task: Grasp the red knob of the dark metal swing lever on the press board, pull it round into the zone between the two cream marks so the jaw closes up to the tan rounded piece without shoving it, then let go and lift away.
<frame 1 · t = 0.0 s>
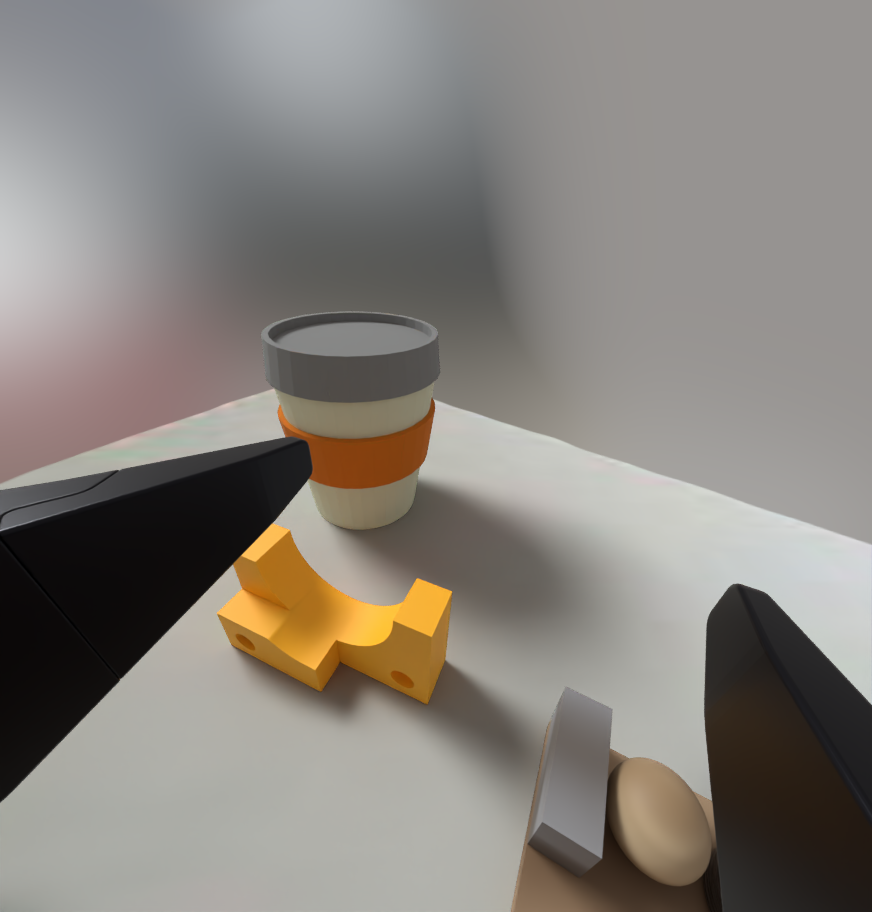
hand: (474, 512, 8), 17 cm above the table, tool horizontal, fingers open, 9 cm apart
pipe clamp: (338, 655, 22), on the table
reusable coffee cup: (366, 497, 34), on the table
tan rounded piece: (639, 829, 15), point 1 cm above the table, touching press board
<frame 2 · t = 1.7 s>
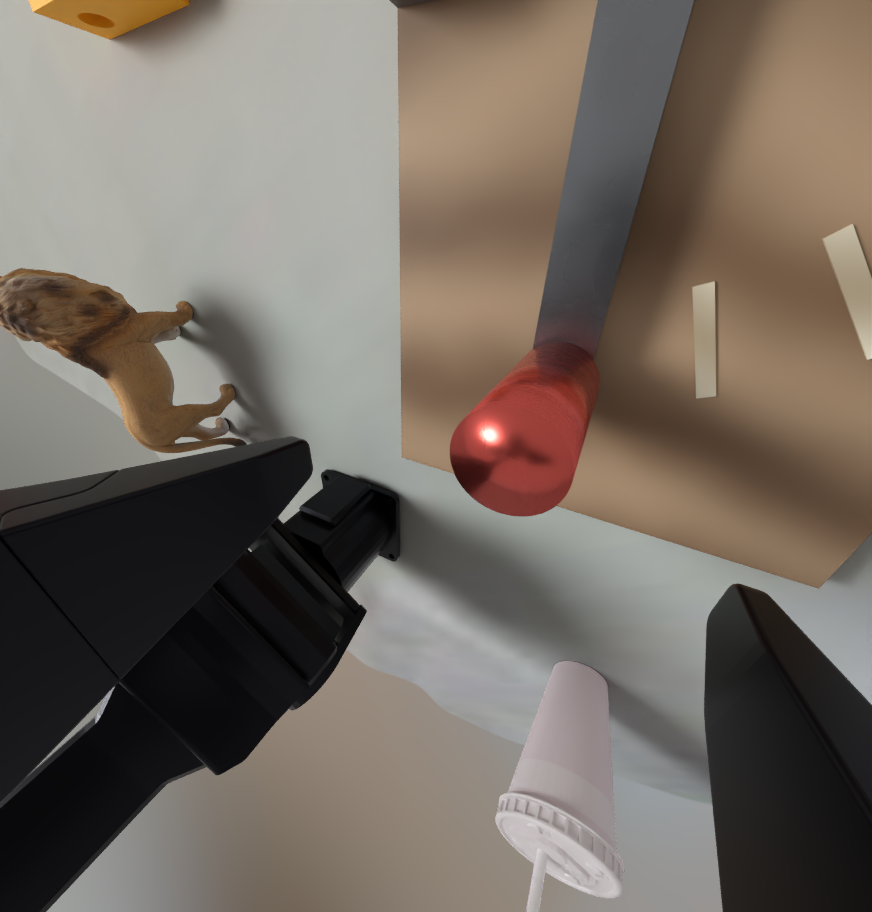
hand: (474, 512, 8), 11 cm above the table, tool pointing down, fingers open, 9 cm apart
press board: (653, 252, 13), on the table
lion figurine: (200, 356, 28), on the table
smoothie: (580, 676, 26), on the table
lever: (616, 66, 8), point 5 cm above the table, hinge at 0.0°
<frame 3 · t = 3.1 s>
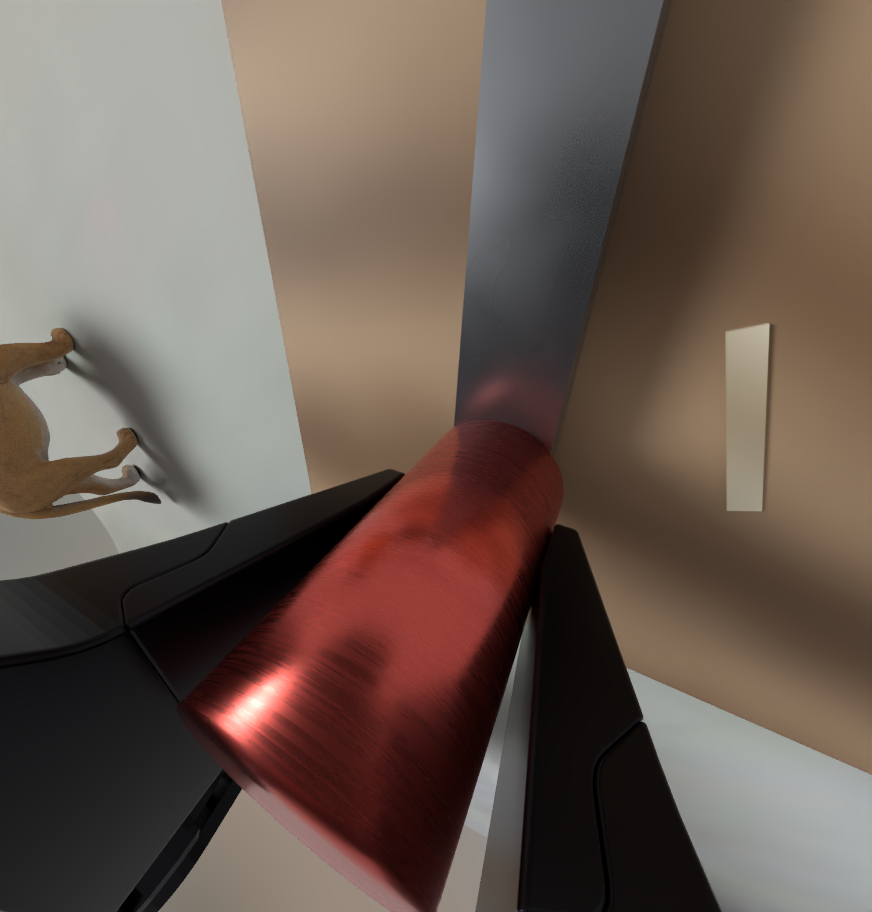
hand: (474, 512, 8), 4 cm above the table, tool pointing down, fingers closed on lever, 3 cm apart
press board: (654, 267, 8), on the table
lion figurine: (94, 393, 23), on the table
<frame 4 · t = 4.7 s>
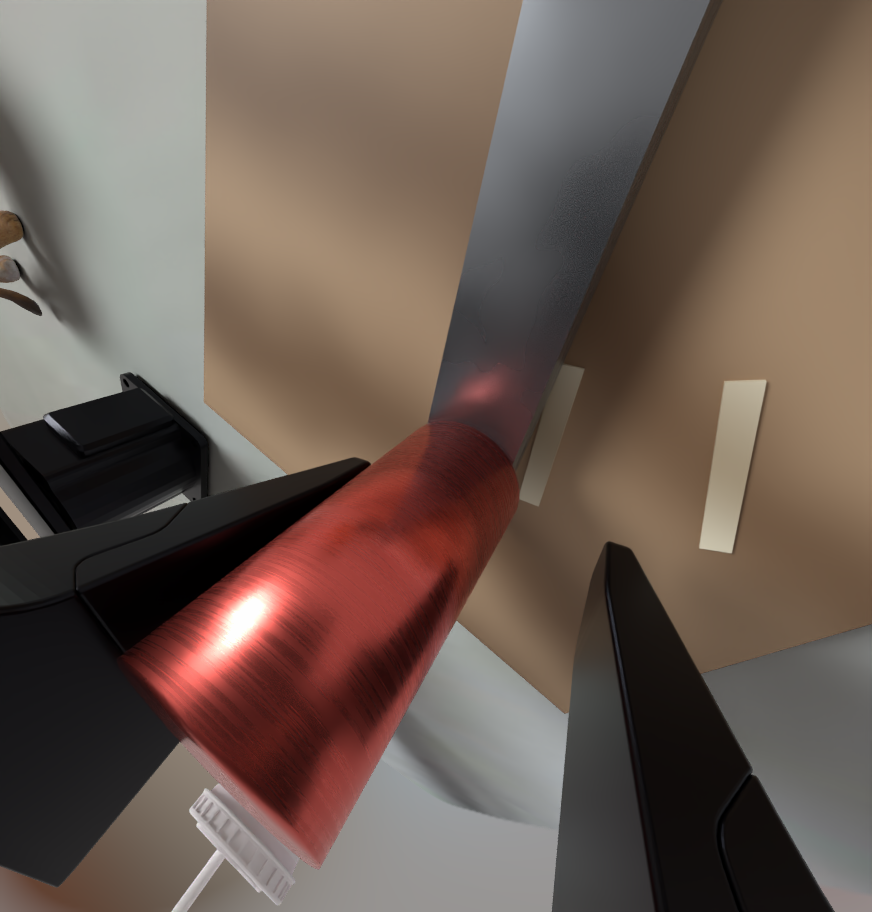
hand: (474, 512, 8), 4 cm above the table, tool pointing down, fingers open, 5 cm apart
press board: (540, 284, 9), on the table
smoothie: (359, 676, 25), on the table
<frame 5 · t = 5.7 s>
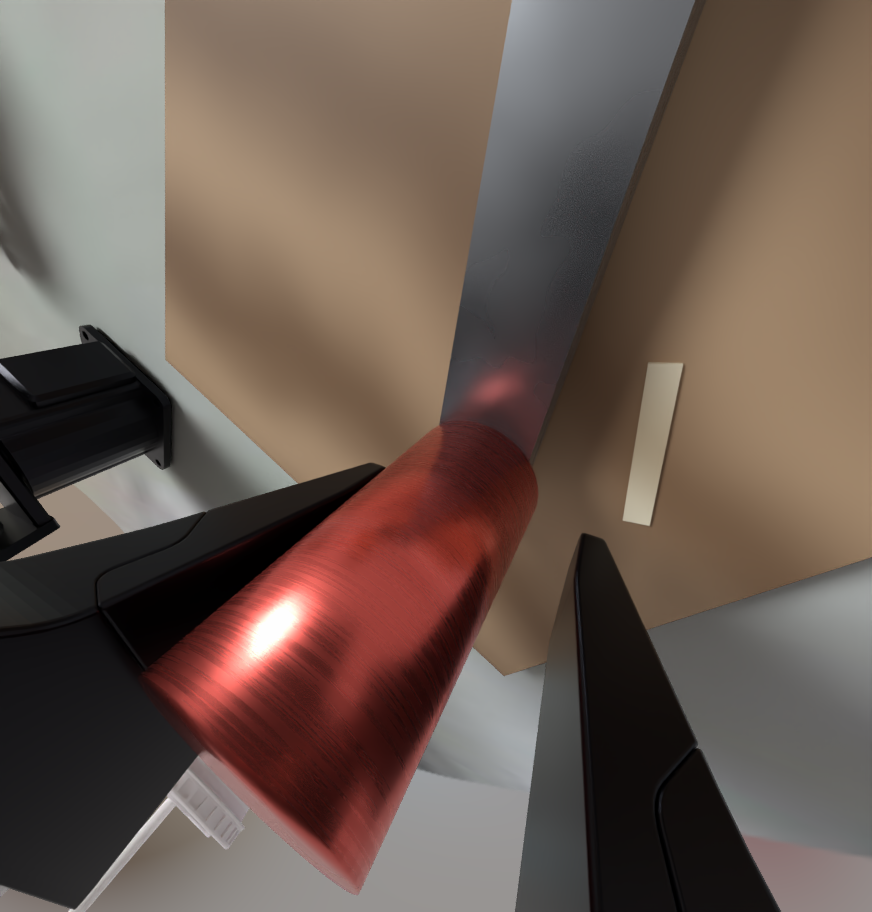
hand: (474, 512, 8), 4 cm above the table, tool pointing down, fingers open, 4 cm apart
press board: (493, 259, 9), on the table
smoothie: (320, 642, 26), on the table
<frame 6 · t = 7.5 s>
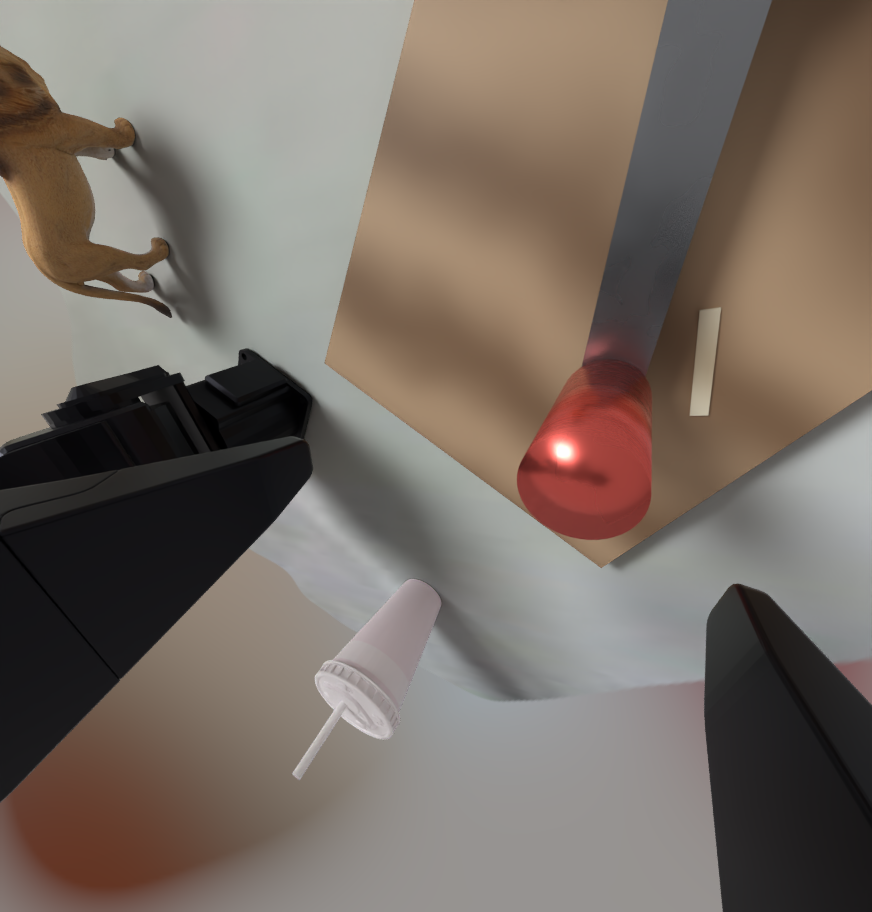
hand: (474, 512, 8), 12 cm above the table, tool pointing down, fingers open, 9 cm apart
press board: (591, 262, 15), on the table
lion figurine: (134, 192, 25), on the table
smoothie: (423, 593, 31), on the table
lever: (690, 97, 8), point 5 cm above the table, hinge at 25.5°
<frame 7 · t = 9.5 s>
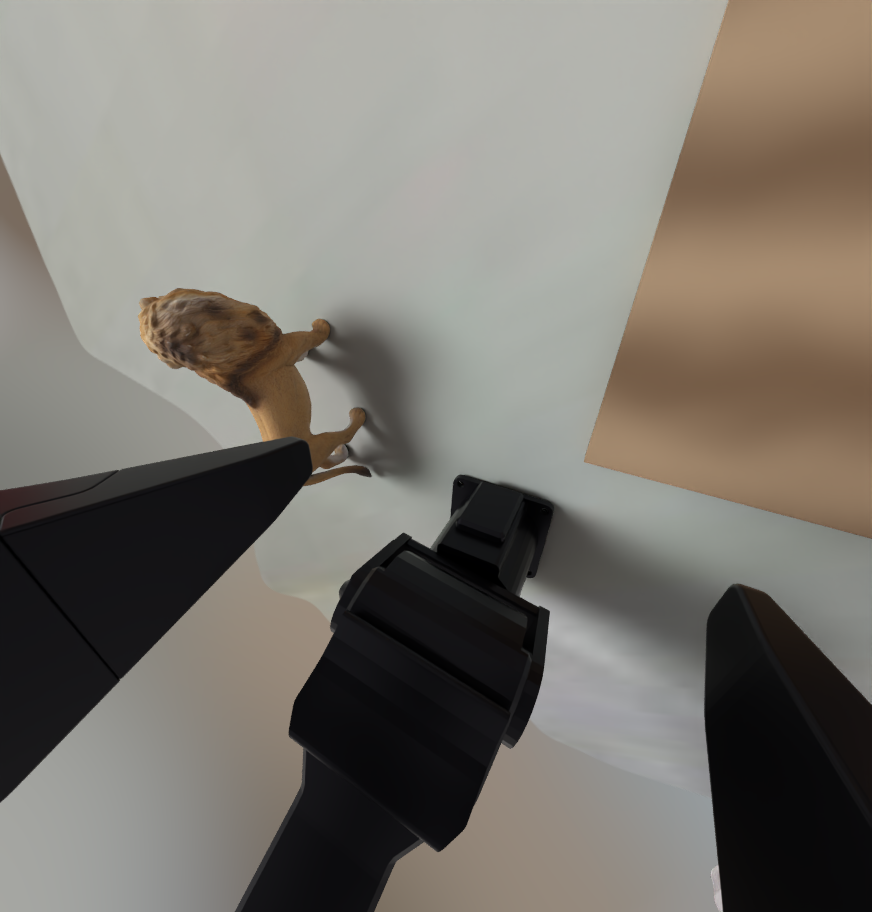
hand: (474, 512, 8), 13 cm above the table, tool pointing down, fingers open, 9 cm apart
lion figurine: (325, 377, 26), on the table
smoothie: (753, 711, 23), on the table
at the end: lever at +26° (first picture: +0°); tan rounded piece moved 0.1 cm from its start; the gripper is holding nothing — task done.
